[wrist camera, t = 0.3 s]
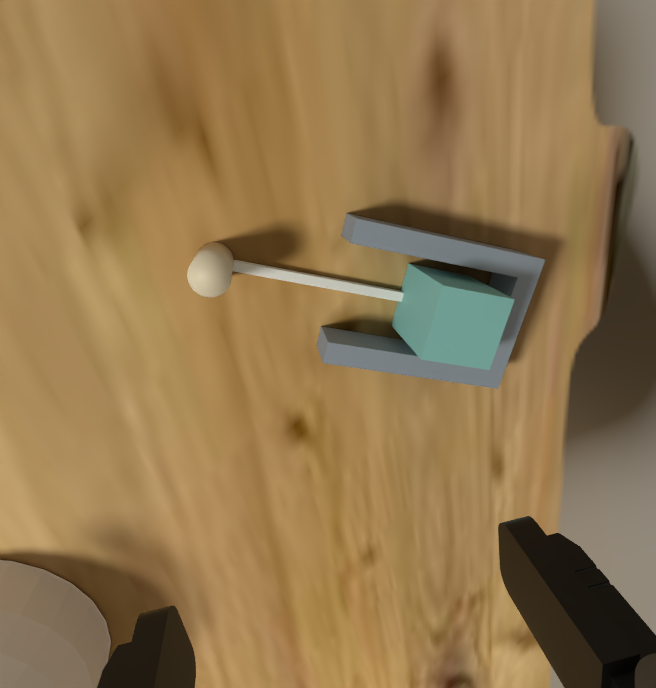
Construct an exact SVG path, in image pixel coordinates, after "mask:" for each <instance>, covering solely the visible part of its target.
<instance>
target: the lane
mask: <svg viewBox="0 0 656 688" xmlns="http://www.w3.org/2000/svg"><path fill="white" fill-rule="evenodd" d="M342 236H343V237H344V238H345V239H346V240H348V241H349V242H350V243H352V244H357V245H362V246H367V247H372V248H377V249H382V250H387V251H391V252H396V253H401V254H406V255H411V256H416V257H421V258H426V259H430V260H435V261H440V262H445V263H450V264H455V265H460V266H464V267H469V268H474V269H479V270H484V271H489V272H493V273H492V276H491V279H490V282H489V285H488V286H490V287H492V288H494V289H496V290H498V291H500V292H501V293H503V294H505V295H507V296H509V297H511V298H513V299H515V300H514V303H513V306H512V308H511V311H510V314H509V317H508V320H507V322H506V325H505V328H504V331H503V334H502V336H501V339H500V342H499V345H498V348H497V351H496V353H495V356H494V359H493V362H492V365H491V367H490V370H485V369H479V368H472V367H466V366H459V365H453V364H446V363H440V362H434V361H427V360H421V359H420V358H419V357H418V356H417V354H416V353H415V352H414V351H413V350H412V349H411V347H410V346H409V345H408V344H407V343H406V342H405V341H404V340H402V339H396V338H389V337H383V336H377V335H371V334H365V333H359V332H353V331H347V330H341V329H334V328H328V327H322V326H321V329H320V334H319V338H318V342H317V347H318V350H319V353H320V356H321V359H322V361H323V363H326V364H333V365H340V366H347V367H354V368H360V369H367V370H374V371H381V372H388V373H394V374H401V375H408V376H415V377H422V378H428V379H435V380H442V381H449V382H456V383H463V384H469V385H476V386H483V387H490V388H497V389H498V387H499V385H500V382H501V379H502V377H503V374H504V371H505V368H506V366H507V363H508V360H509V358H510V355H511V352H512V349H513V347H514V344H515V341H516V339H517V336H518V333H519V330H520V328H521V325H522V322H523V319H524V317H525V314H526V311H527V309H528V306H529V303H530V300H531V298H532V295H533V292H534V290H535V287H536V284H537V281H538V279H539V276H540V273H541V270H542V268H543V265H544V262H545V259H542V258H539V257H536V256H533V255H530V254H527V253H524V252H521V251H517V250H512V249H508V248H503V247H499V246H494V245H490V244H485V243H481V242H476V241H471V240H467V239H462V238H458V237H453V236H449V235H444V234H439V233H435V232H430V231H426V230H421V229H417V228H412V227H407V226H403V225H398V224H394V223H389V222H385V221H380V220H376V219H371V218H366V217H362V216H357V215H353V214H348V213H346V218H345V222H344V227H343V231H342Z"/></svg>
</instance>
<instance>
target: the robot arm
mask: <svg viewBox="0 0 656 688" xmlns="http://www.w3.org/2000/svg"><path fill="white" fill-rule="evenodd" d="M498 533H499V555H500V570H501V575H502V578H503V581H504V584H505V587H506V589H507V591H508V593H509V595H510V597H511V599H512V600H513V602H514V604H515V605H516V607H517V609H518V610H519V612H520V614H521V615H522V617H523V619H524V620H525V622H526V624H527V625H528V627H529V629H530V630H531V632H532V634H533V635H534V637H535V639H536V641H537V642H538V644H539V646H540V647H541V649H542V651H543V652H544V654H545V656H546V657H547V659H548V661H549V662H550V664H551V666H552V667H553V669H554V671H555V672H556V674H557V676H558V677H559V679H560V681H561V683H562V684H563V686H564V687H565V688H656V635H655V634H654V633H653V632H652V630H650V628H649V627H648V626H647V625H646V623H645V622H644V621H643V620H642V619H641V618H640V616H639V615H638V614H637V613H636V612H635V610H634V609H633V608H632V607H631V606H630V605H629V604H628V602H627V601H626V600H625V599H624V598H623V597H622V595H621V594H620V593H619V592H618V591H617V589H616V588H615V587H614V586H613V585H611V584H610V582H609V580H608V579H607V578H606V577H605V575H604V574H603V573H602V572H601V571H600V570H599V569H597V568H596V565H595V564H594V562H593V561H592V560H591V559H590V558H589V557H588V555H587V554H586V553H585V552H584V551H583V550H582V548H581V547H580V546H578V545H577V544H575V543H573V542H572V541H570V540H569V539H567V538H565V537H564V536H563V535H561V534H559V533H556V534H552V535H548V536H547V535H546V534H545V533H544V532H543V530H542V529H541V528H540V527H539V525H538V524H537V523H536V521H535V520H534V519H533V518H531V517H530V516H526V517H523V518H519V519H515V520H511V521H507V522H503V523H500V524H499V527H498ZM195 678H196V663H195V655H194V651H193V647H192V645H191V642H190V640H189V637H188V635H187V632H186V630H185V628H184V625H183V623H182V620H181V618H180V616H179V613H178V611H177V609H176V607H175V606H169V607H165V608H161V609H157V610H153V611H149V612H145V613H142V614H140V615H139V617H138V619H137V623H136V626H135V630H134V634H133V638H132V642H130V643H126V644H122V645H118V647H117V648H116V650H115V651H114V653H113V655H112V656H111V658H110V659H109V661H108V662H107V664H106V666H105V667H104V669H103V670H102V674H101V677H100V680H99V684H98V687H97V688H195Z"/></svg>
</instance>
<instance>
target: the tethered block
mask: <svg viewBox="0 0 656 688" xmlns="http://www.w3.org/2000/svg"><path fill="white" fill-rule="evenodd" d="M232 271H234V272H240V273H245V274H251V275H256V276H262V277H267V278H273V279H278V280H284V281H289V282H295V283H300V284H306V285H311V286H317V287H322V288H328V289H333V290H339V291H344V292H350V293H355V294H361V295H366V296H372V297H377V298H383V299H388V300H394V301H398V304H397V307H396V311H395V314H394V318H393V322H392V325H391V326H392V327H393V328H394V329H395V330H396V331H397V332H398V334H399V335H400V336H401V337H402V338H403V339H404V341H405V342H406V343H407V344H408V345H409V346H410V347H411V349H412V350H413V351H414V352H415V353H416V354H417V356H418V357H419V358H420V359H421V360H427V361H434V362H440V363H446V364H453V365H459V366H466V367H472V368H479V369H485V370H490V367H491V365H492V362H493V359H494V356H495V353H496V351H497V348H498V345H499V342H500V339H501V336H502V334H503V331H504V328H505V325H506V322H507V320H508V317H509V314H510V311H511V308H512V306H513V303H514V300H515V299H513V298H511V297H509V296H507V295H505V294H503V293H501V292H500V291H498V290H496V289H494V288H492V287H490V286H488V285H486V284H484V283H482V282H480V281H478V280H476V279H474V278H472V277H471V276H469V275H464V274H459V273H454V272H449V271H444V270H439V269H434V268H429V267H424V266H419V265H414V264H409V263H408V267H407V271H406V274H405V278H404V282H403V285H402V289H401V291H400V290H395V289H389V288H384V287H378V286H373V285H368V284H362V283H357V282H352V281H346V280H341V279H336V278H330V277H325V276H320V275H314V274H309V273H304V272H298V271H293V270H288V269H282V268H277V267H272V266H266V265H261V264H256V263H250V262H245V261H240V260H234V259H233V255H232V253H231V251H230V250H229V249H228V248H227V247H226V246H225V245H223V244H221V243H216V242H212V243H207V244H205V245H203V246H202V247H201V248H200V249H199V251H198V253H197V254H196V256H195V258H194V259H193V261H192V263H191V264H190V266H189V269H188V273H187V277H188V282H189V284H190V286H191V288H192V289H193V290H194V291H195V292H196V293H198V294H199V295H202V296H205V297H216V296H219V295H221V294H223V293H224V292H225V291H226V290H227V289H228V287H229V285H230V283H231V277H232Z"/></svg>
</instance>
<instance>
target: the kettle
mask: <svg viewBox="0 0 656 688" xmlns="http://www.w3.org/2000/svg"><path fill="white" fill-rule="evenodd" d="M110 644H111V640H110V636H109V631H108V627H107V623H106V620H105V619H104V617H103V616H102V614H101V613H100V611H99V610H98V608H97V607H96V605H95V603H94V602H93V601H92V600H91V599H90V598H89V597H88V596H86V595H85V594H84V593H83V592H82V591H80V590H79V589H78V588H77V587H76V586H74V585H73V584H72V583H71V582H69V581H67V580H65V579H63V578H61V577H59V576H57V575H55V574H53V573H51V572H49V571H47V570H45V569H41V568H37V567H34V566H30V565H26V564H22V563H18V562H15V561H8V560H0V688H97V685H98V683H99V680H100V677H101V674H102V670H103V669H104V667H105V666H106V664H107V662H108V657H109V651H110Z"/></svg>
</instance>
